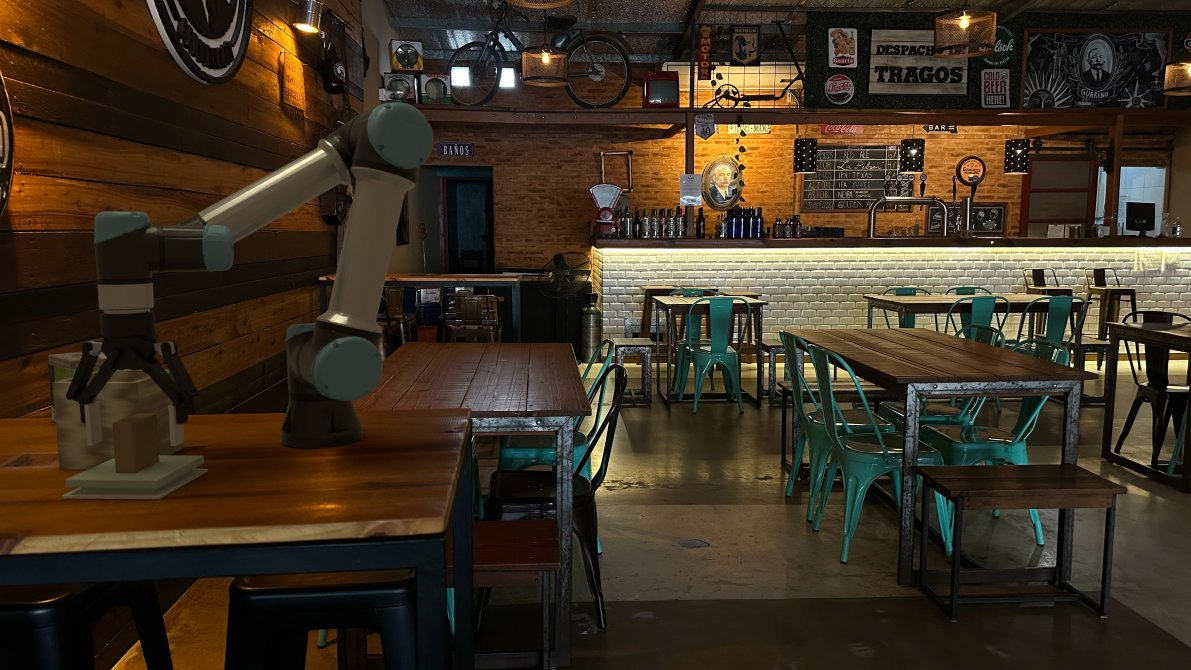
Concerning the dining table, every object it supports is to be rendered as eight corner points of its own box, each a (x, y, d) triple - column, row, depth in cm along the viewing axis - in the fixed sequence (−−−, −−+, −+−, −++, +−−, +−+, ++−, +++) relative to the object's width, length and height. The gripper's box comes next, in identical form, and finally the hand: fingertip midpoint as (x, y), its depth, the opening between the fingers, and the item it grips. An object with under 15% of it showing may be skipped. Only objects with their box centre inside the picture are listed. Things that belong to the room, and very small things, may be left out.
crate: (182, 448, 154) (178, 369, 153) (140, 469, 141) (134, 383, 139) (109, 448, 155) (103, 369, 153) (59, 469, 141) (52, 382, 139)
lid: (204, 469, 139) (201, 409, 138) (158, 495, 125) (153, 428, 124) (121, 468, 140) (117, 408, 138) (66, 495, 126) (61, 428, 124)
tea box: (127, 424, 175) (123, 355, 173) (74, 432, 167) (68, 360, 166) (102, 414, 185) (97, 348, 183) (50, 421, 177) (45, 353, 176)
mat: (207, 471, 140) (207, 468, 140) (159, 499, 125) (159, 496, 125) (120, 470, 140) (120, 468, 140) (61, 498, 125) (61, 495, 125)
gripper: (217, 309, 133) (223, 438, 135) (65, 308, 133) (75, 437, 136) (193, 313, 125) (200, 450, 128) (32, 312, 126) (43, 448, 128)
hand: (136, 443), depth 132 cm, fingers open, 13 cm apart
